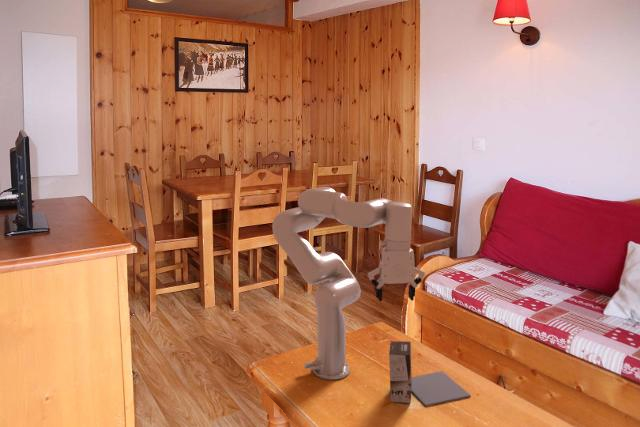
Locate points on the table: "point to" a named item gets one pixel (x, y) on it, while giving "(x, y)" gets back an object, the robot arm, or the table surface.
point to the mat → (436, 389)
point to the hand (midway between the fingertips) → (395, 299)
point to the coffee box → (400, 371)
